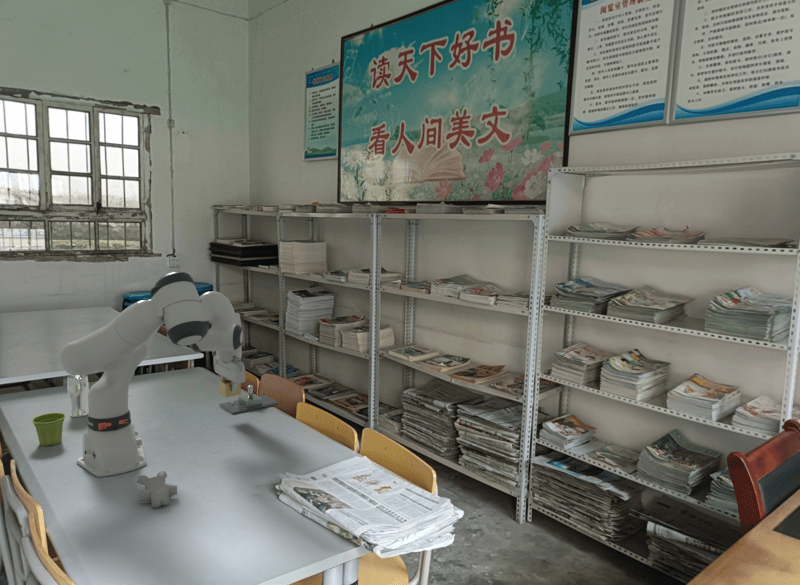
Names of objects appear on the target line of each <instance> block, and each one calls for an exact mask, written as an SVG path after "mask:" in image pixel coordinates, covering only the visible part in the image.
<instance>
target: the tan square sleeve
mask: <svg viewBox="0 0 800 585" xmlns="http://www.w3.org/2000/svg"><path fill="white" fill-rule="evenodd" d="M231 387H232V381H231V380H229V379H225V380H222V379H220V380H218V394H220V395H221V396H223V397H225V398H229V397H236V396H242V392H241V391H242V383H239V384H238V386H237V392H232V391H231Z"/></svg>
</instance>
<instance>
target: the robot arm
mask: <svg viewBox="0 0 800 585" xmlns="http://www.w3.org/2000/svg"><path fill="white" fill-rule="evenodd" d="M149 293H150V296H151V298H150V299H143V300H138V301H136V302H133V303H132V304H130V305H129V306H127V307H126V308H125V309H123V311H121V312H120V313H119V314H118V315H117V316H116V317H115V318H114V319H112V320H111V321H110V322H109V323H108V324H106V325H104V326H102V327H100V328H98V329H96V330H94V331H93V332H91V333H89V334H86V335H85V336H82V337H80V338H79V339H76V340H73V341H70V342H68V343H66V344H64V346H63V347H62V349H61V351H60V353H59V363H60V365H61V367H62V369H63V370H64V371H65V372H66V373H67V374H69V376H71V375H87V376H88V375H93V374H98V373H102V372H103V374H102V375H101V377H100V378H99V380H97V381H96V382H95V383H94V384H92V385H91V386H90V387H89V391H88V398H87V408H88V412H89V413H88V414H87V415H86V417H87V419H86V423H87V427H88V428H87V430H86V431H85V432H84V434H83V435H82V456H80V457H78V458H77V459H76V464H78V465H79V466H80V467H82V468H83V469H85V470H86V471H87V472H89V473H91V474H92V475H94V476H95V477H101V478H102V477H109V476H116V475H120V474H123V473H128V472H131V471H135V470H137V469H140V468H142V467H144V466H145V465H147V461H146V460H147V459H146V456H145V452H144V447H143V440H142V437H141V438H137V437H136V436H138V435H139V431H138V430H136V431H135V424H133V423H132V418H131V417H132V416H131V412H130V409H129V387H130V383H131V380H132V377H133V375H134V373H135V371H136V370H137V368H138V367H139V365H140V364H141V363H142V362H143V361H144V360H145V359H146V357H148V353H149V343H148V341H150V340H151V339H152V338H153V337H154V336H155V335H156V334H157V332H158V331H159V329H160V327H161V326H163V325H165V328H166V330H167V331H166V334H167V336H168V338H169V339H170V341H171V343H172V344H173V345H176V346H180V347H181V346H183V347H184V346H188V347H189V348H190V349H191V350H192V351H194V352H195V353H200V352H212V356H213V369H214V372H215V373H216V374H218V375H220V380H225V379H229V380H231V381H232V387H231V391H232V392H237V386H238V384H239V383H241V384H242V383H245V381H246V367H245V364H244V362H243V361H242V355H243V352H242V345H244V328H243V327H242V321H241V314H240V313H239V312H238V311H235V309H234V306H233V305H232V303H231V301H230V300H229V298H227V296H225V295H224V294H223V293H221V292H220V291H215V290H212V291H210V290H209V291H207V292H204V293H202V294H201V295H199V292H198V290H197V288H196V283H195V281H194V279H193V277H192V276H191V274H189V273H187V272H185V271H171V272H168V273H166V274H164V275H162V276H161V277H160V278H159V279H158V280H157V281H156V283H155V285H154V287H152V288H151V289H150V292H149Z"/></svg>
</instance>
